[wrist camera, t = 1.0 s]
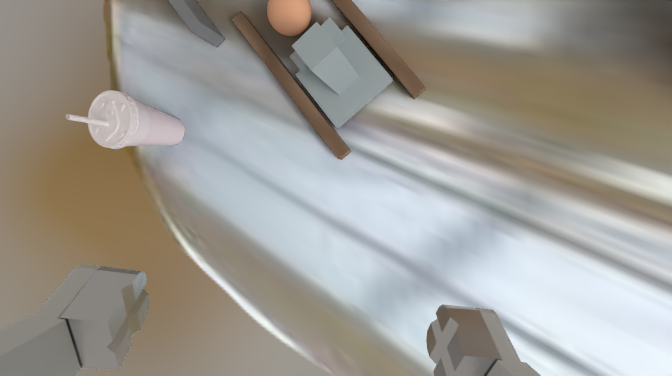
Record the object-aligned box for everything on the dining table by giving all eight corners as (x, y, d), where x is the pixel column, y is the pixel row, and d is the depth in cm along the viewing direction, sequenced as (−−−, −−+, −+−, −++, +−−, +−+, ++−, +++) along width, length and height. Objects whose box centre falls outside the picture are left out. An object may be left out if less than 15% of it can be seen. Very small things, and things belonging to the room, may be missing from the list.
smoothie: (151, 151, 49) (41, 139, 35) (157, 105, 48) (48, 75, 35) (189, 158, 47) (89, 148, 34) (196, 110, 47) (97, 80, 33)
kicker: (344, 23, 40) (314, -28, 31) (393, 81, 39) (377, 47, 29) (294, 71, 42) (250, 37, 32) (338, 128, 41) (306, 111, 31)
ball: (301, -9, 42) (283, -33, 37) (325, 21, 41) (310, 0, 37) (271, 22, 43) (250, 1, 38) (294, 51, 42) (276, 34, 38)
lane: (308, -48, 42) (303, -56, 40) (425, 89, 38) (424, 86, 37) (238, 25, 45) (231, 19, 43) (341, 159, 41) (338, 158, 40)
